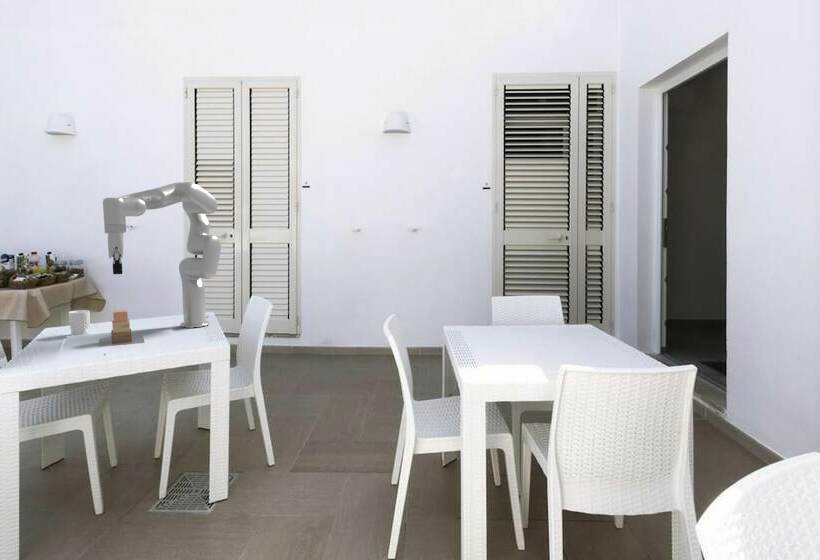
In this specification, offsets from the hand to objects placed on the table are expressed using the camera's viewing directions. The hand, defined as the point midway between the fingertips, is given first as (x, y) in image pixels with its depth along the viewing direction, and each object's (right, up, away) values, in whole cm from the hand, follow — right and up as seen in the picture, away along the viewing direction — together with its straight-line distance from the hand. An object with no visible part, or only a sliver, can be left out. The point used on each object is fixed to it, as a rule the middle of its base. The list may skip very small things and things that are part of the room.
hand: (117, 272), depth 223 cm
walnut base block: (0, -27, +3) cm, 27 cm away
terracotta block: (0, -19, +2) cm, 19 cm away
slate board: (0, -28, +3) cm, 28 cm away
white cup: (-26, -26, +19) cm, 42 cm away
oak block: (0, -23, +3) cm, 23 cm away
